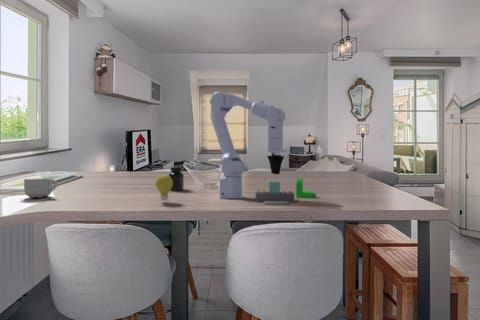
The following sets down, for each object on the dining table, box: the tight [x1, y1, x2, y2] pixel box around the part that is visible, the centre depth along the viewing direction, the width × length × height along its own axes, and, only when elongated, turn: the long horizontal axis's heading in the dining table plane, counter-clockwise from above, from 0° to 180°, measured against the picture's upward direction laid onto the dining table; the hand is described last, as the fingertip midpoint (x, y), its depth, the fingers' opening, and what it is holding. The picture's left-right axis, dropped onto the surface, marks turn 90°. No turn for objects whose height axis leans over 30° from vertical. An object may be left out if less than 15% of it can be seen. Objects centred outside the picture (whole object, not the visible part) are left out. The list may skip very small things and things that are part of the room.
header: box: [254, 189, 295, 203], centre depth 154 cm, size 14×8×4 cm, turn 90°
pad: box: [263, 201, 291, 206], centre depth 145 cm, size 9×8×1 cm
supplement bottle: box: [168, 166, 185, 192], centre depth 184 cm, size 7×7×12 cm
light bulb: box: [155, 174, 173, 202], centre depth 154 cm, size 7×7×10 cm
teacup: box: [23, 178, 58, 198], centre depth 165 cm, size 14×11×8 cm
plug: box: [267, 179, 281, 193], centre depth 154 cm, size 4×4×8 cm
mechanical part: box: [295, 177, 314, 199], centre depth 169 cm, size 12×6×8 cm, turn 164°
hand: (275, 173), depth 154 cm, fingers open, 7 cm apart
